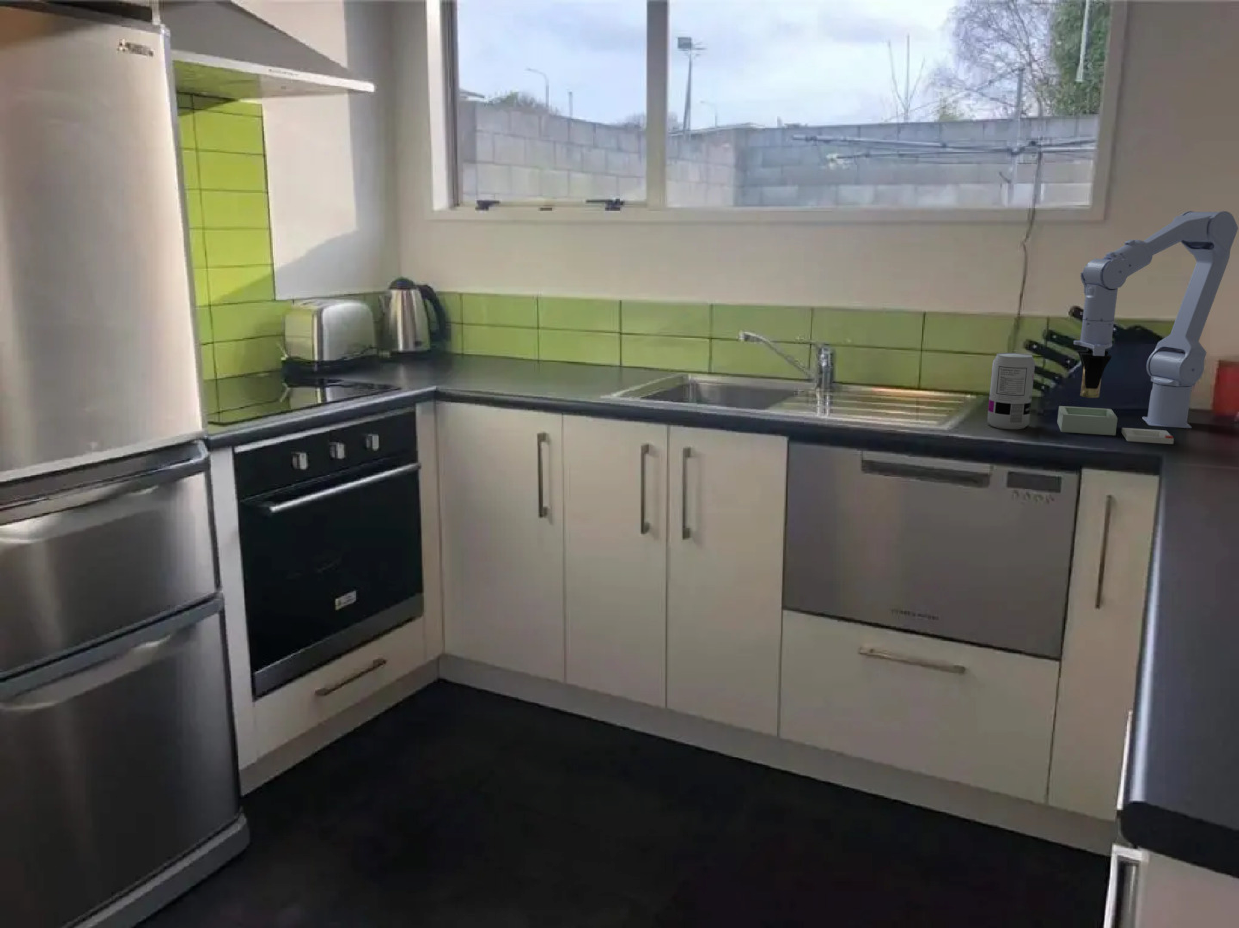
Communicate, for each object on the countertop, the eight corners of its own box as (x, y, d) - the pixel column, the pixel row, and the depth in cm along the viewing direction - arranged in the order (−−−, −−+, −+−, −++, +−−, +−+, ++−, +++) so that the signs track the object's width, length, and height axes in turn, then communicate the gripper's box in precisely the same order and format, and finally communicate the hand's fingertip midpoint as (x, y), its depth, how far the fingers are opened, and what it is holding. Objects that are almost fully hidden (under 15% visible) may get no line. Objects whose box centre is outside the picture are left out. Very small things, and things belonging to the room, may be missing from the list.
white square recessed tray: (1121, 435, 204) (1122, 426, 203) (1165, 437, 201) (1166, 429, 201) (1126, 443, 196) (1128, 434, 196) (1172, 446, 194) (1174, 437, 193)
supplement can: (978, 423, 214) (984, 353, 211) (1008, 420, 217) (1015, 351, 214) (1006, 431, 207) (1013, 358, 203) (1037, 428, 210) (1044, 356, 207)
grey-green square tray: (1057, 424, 214) (1059, 406, 213) (1108, 427, 211) (1111, 409, 210) (1060, 433, 205) (1063, 414, 204) (1115, 437, 201) (1117, 417, 200)
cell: (1079, 394, 208) (1083, 362, 206) (1098, 395, 207) (1102, 363, 205) (1080, 396, 205) (1084, 365, 203) (1099, 398, 204) (1103, 366, 202)
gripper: (1073, 315, 210) (1065, 380, 213) (1080, 322, 197) (1072, 391, 200) (1110, 317, 208) (1102, 382, 211) (1119, 324, 194) (1111, 393, 198)
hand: (1090, 386), depth 205 cm, fingers closed on cell, 3 cm apart
